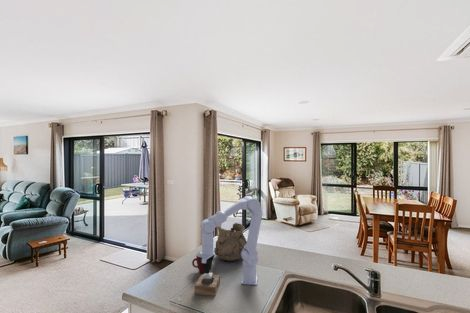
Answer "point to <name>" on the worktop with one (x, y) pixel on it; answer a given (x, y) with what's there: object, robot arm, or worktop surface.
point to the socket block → (207, 286)
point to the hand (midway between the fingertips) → (207, 271)
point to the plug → (208, 278)
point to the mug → (198, 263)
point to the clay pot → (230, 243)
